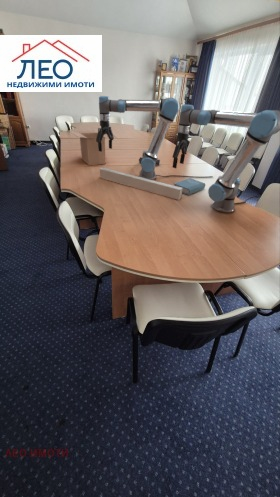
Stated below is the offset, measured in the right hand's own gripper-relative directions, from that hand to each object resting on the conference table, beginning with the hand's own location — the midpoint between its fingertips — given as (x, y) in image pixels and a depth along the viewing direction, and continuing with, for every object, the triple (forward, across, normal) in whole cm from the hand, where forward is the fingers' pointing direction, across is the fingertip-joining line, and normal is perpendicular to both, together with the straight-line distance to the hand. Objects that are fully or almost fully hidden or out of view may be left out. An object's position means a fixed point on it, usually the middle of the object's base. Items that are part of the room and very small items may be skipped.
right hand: (178, 165), depth 158 cm
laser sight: (+24, +66, +57) cm, 90 cm away
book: (+24, +24, -4) cm, 34 cm away
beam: (+24, 0, +32) cm, 40 cm away
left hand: (0, 0, +65) cm, 65 cm away
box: (+24, +34, +108) cm, 116 cm away
